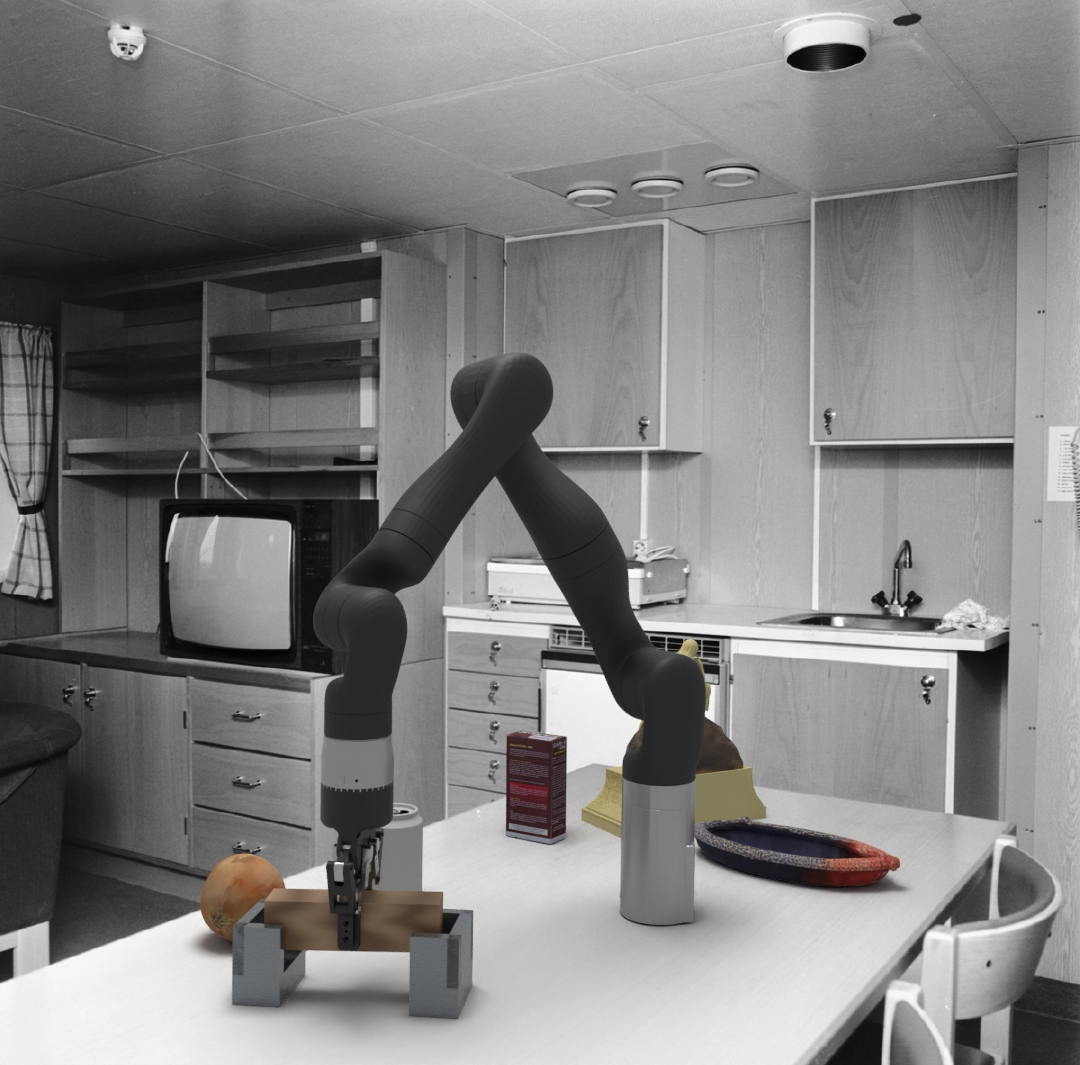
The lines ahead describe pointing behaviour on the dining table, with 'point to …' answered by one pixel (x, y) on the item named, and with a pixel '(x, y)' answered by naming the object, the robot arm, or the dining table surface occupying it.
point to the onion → (236, 890)
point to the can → (402, 851)
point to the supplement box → (536, 786)
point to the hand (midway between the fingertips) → (355, 939)
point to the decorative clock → (717, 779)
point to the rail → (381, 918)
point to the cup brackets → (275, 972)
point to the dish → (793, 853)
